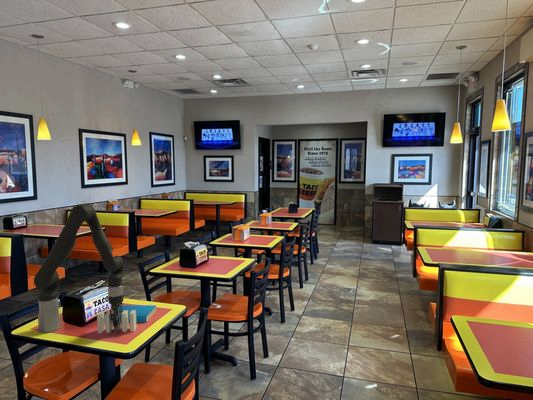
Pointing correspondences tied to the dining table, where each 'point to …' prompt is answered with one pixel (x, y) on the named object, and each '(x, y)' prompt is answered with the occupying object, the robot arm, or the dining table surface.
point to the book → (139, 312)
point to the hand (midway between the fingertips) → (117, 323)
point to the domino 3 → (116, 329)
